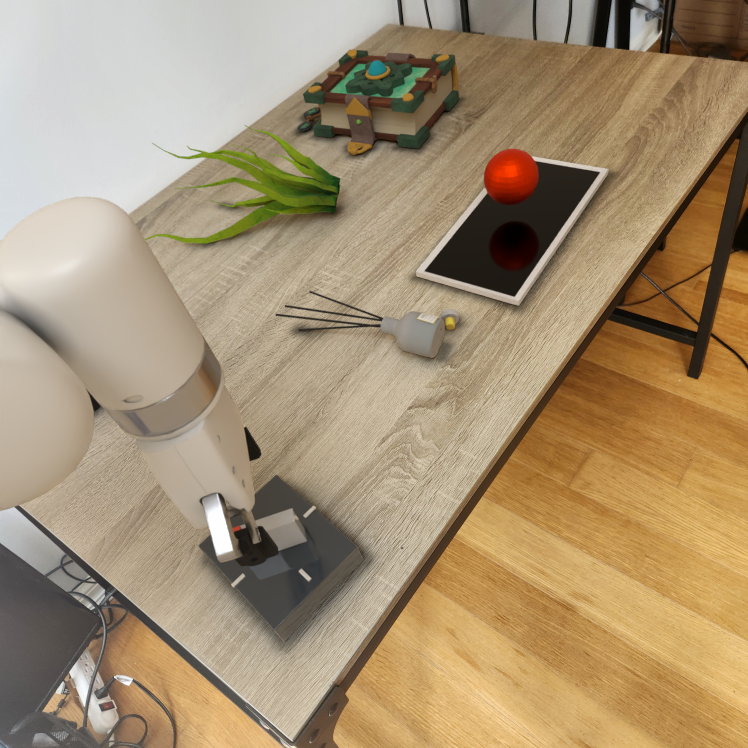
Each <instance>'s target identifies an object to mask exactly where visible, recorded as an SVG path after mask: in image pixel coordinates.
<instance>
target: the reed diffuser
mask: <svg viewBox="0 0 748 748" xmlns="http://www.w3.org/2000/svg"><path fill="white" fill-rule="evenodd" d="M308 293H309V294H311V295H314V296H317V297H320V298H322V299H325V300H328V301H330V302H333V303H336V304H339V305H341V306H344V307H346V308H349V309H352V310H354V311H356V312H357V311H358V312H360V313H363V314H366V315H368V316H364V315H356V314H349V313H342V312H335V311H330V310H329V311H328V310H321V309H316V308H308V307H302V306H295V305H289V304H285V305H284V308H290V309H295V310H301V311H308V312H309V311H310V312H316V313H321V314H329V315H334V316H335V315H336V316H343V317H350V318H354V319H361V320H369V321H375V322H380V323H377V324H376V323H375V324H372V323H364V322H363V323H362V322H352V321H346V320H345V321H343V320H335V319H328V318H327V319H326V318H319V317H318V318H317V317H311V316H301V315H291V314H283V313H275V317H281V318H282V317H283V318H289V319H301V320H308V321H317V322H327V323H334V324H344V325H343V326H340V325H339V326H327V327H326V326H325V327H309V328H298V330H297V331H298V332H309V331H323V330H325V331H327V330H342V329H344V330H345V329H358V328H359V329H360V328H379V329H380V332H381V333H385V334H387V335H391V336H394V337H395V340H396V342H397V345H398V346H399V348H400V349H401V350H402V351H404V352H407V353H410V354H414V355H419V356H422V357H426V358H431V359H434V358H435V357H436V356H437V355H438V353H439V351H440V349H441V346H442V343H443V339H444V336H445V328H446V329H447V330H449V331H452V330H454V329H455V328H456V324H457V323H458V322H459V320H460V316H459V312H458V311H457V310H455V309H450V308H449V309H445V310H443V311H442V312H441V313H440V316H438V315H435V314H432V313H427V312H425V311H421V312H420V311H415V310H414V311H409V312H407V313H405V314H404V315H403V316H401V318H399V319H398V318H394V317H390V316H387V315H386V316H384V317H383V316H380V315H376V314H374V313H373V312H369V311H366V310H364V309H361V308H358V307H355V306H354V305H353V306H352V305H350V304H348V303H344V302H342V301H339V300H336V299H334V298H331V297H328V296H325V295H323V294H320V293H318V292H315V291H312V290H309V291H308Z"/></svg>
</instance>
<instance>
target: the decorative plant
mask: <svg viewBox="0 0 748 748" xmlns="http://www.w3.org/2000/svg"><path fill="white" fill-rule="evenodd" d="M244 126H245V127H246V128H248V129H250V130H251V131H254V132H258V133H262V134H266V135H268V136H269V137H270V138H271V139H273V140H275V141H276V142H277V144H279V145H280V146H281V147H282V149H283V151H285V152H286V154H287V155H288V156H289V157H287V156H285V155H281V154H280V155H279V154H271V153H266V155H269V156H272V157H273V156H274V157H280V158H283V159H285V160H286V161H288V162H289V163H291V164H292V165H293V166H294V167H295V168H296V169H297V170H298V171H299V172H300V173H302V174H303V175H305V176H300V175H299V176H298V175H296V174H293V173H290V172H287V171H284V170H283V169H280V168H279V167H278V166H276V165H274V164H273V163H271V162H270V161H268V160H267V159H265V158H262V157H259V156H258V155H257V153H256V152H255V151H253V150H252V149H251V148H248V147H244V146H240V145H235V144H231V146H232V147H233V146H234V147H238V148H242V149H244V150H247V151H249V152H250V153H251V154H250V153H246V152H243V151H237V150H229V149H220V150H215V151H212V152H208V151H205V150H201V149H194V148H190V147H189V145H186V147H187V148H188V150H190V151H192V152H193V151H194V152H198V153H197V154H193V155H189V156H187V155H186V156H180V155H177V154H175V153H172V152H170V151H167V150H165V149H163V148H162V147H160V146H158V145H157V144H155V143H154V142H151V144H152V145H153V146H155V147H157V148H158V149H160V150H162V151H163V152H165V153H167V154H169V155H171V156H173V157H175V158H177V159H182V160H195V159H202V158H203V159H204V158H205V159H211V160H219V161H222V162H224V163H226V164H229V165H230V166H233V167H235V168H237V169H240V170H242V171H244V172H246V173H247V174H249V175H250V176H251V177H252V178H254V180H250V179H246V178H241V177H236V176H231V177H228V178H224V179H221V180H217V181H214V182H210V183H207V184H202V185H201V184H200V185H195V186H188V187H180V188H176V190H183V189H184V190H186V189H199V188H200V189H201V188H210V187H211V188H212V187H216V186H222V185H226V184H231V183H232V184H233V183H236V184H239V185H242V186H243V187H244V186H245V187H247V188H249V189H252V190H254V191H257V192H259V193H262V194H263V196H260V197H256V198H250V199H247V200H240V201H236V202H235V203H234V204H233V205H232V204H231V205H229V204H226V203H221V202H218V201H215V200H212V199H210V201H211V202H214V203H217V204H219V205H223V206H225V207H229V208H237V207H243V208H254V207H258V208H255V209H254V210H253V211H251V212H250V213H249V214H247V215H245V216H244V217H242V218H240V220H238V221H236V222H235V223H234V224H232V225H231V226H229V227H227V228H224V229H222V230H220V231H218V232H215V233H213V234H211V235H209V236H206V237H184V236H183V237H182V236H178V235H174V234H169V233H156V234H152V235H151V236H148V237H146V238H144V239H145V240H146V241H147V240H150V239H153V238H157V237H161V238H169V239H171V240H175V241H178V242H180V243H185V244H209V243H213V242H218V241H221V240H224V239H228V238H232V237H235V236H237V235H239V234H241V233H242V232H245V231H246V230H248V229H251V228H253V227H254V226H257V225H259V224H261V223H262V222H265V221H267V220H269V219H272V218H274V217H276V216H278V215H292V214H293V215H310V214H316V213H333V214H334V213H335V212H336V211H337V204H338V197H339V196H340V191H341V190H340V189H341V184H340V183H341V177H338V176H336V175H333V174H331V173H330V172H328V171H327V170H326V169H324V167H322V166H320V165H319V164H317V162H315V161H314V160H313V159H312V158H311V157H309V156H307V155H304V154H302V153H301V152H299V150H297V149H296V148H294V147H293V145H291V144H289V142H287V141H285V140H284V139H283V138H280V137H279V136H278V135H275V134H274V133H271V132H270V131H267V130H261V129H253V128H251V127H250V126H248V125H246V124H244ZM255 180H256V181H255Z"/></svg>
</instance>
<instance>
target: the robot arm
mask: <svg viewBox="0 0 748 748" xmlns="http://www.w3.org/2000/svg"><path fill="white" fill-rule="evenodd" d="M145 239H146V238H145V237H144V236H143V233H142V232H141V230H140V228H139V227H138V225H137V224H136V222H135V221H134V220H133V218H132V217H131V216H130V215H129V214H128V213H127V212H126V211H125V209H124V208H122V207H120V206H119V205H118V204H117V203H115V202H113V201H110V200H107V199H104V198H101V197H95V196H75V197H69V198H65V199H61V200H58V201H55V202H52V203H50V204H47V205H45V206H43V207H41V208H39V209H37V210H35V211H34V212H32V213H29V214H28V215H27V216H26V217H24V218H23V219H21V220H20V221H19V222H18V223H16V224H15V225H14V226H13V227H12V228H11V229H10V230H9V231H8V232H7V233H6V234H5V235H4V236H3V238H2V239H1V240H0V512H2V511H7V510H11V509H12V508H15V507H18V506H21V505H24V504H26V503H29V502H31V501H33V500H35V499H37V498H40V497H41V496H43V495H45V494H47V493H49V492H50V491H51V490H53V489H54V488H56V487H58V486H59V485H61V483H64V481H66V480H67V478H69V477H70V475H72V474H73V473H74V472H75V470H76V469H77V468H78V467H79V465H80V464H81V463H82V461H83V460H84V458H85V457H86V456H87V453H88V451H89V448H90V446H91V443H92V442H93V441H92V440H93V436H94V432H95V411H94V410H93V407H92V403H91V399H90V396H89V394H88V392H89V393H90V394H91V395H92V396H93V397H94V398H95V400H96V401H97V402H98V403H99V404H100V405H101V406H100V407H101V408H102V409H103V410H104V411H105V412H106V414H107V415H108V416H109V417H110V418H111V419H112V420H113V421H114V422H115V424H116V425H117V426H118V427H119V428H120V429H121V430H122V432H123V433H124V434H126V435H127V436H129V437H130V438H132V439H135V441H136V445H137V449H138V451H139V453H140V455H141V457H142V458H143V460H144V462H145V464H146V465H147V467H148V469H149V471H150V473H151V474H152V476H153V477H154V479H155V480H156V482H157V483H158V485H159V486H160V487H161V489H162V490H163V492H164V493H165V495H166V496H167V497H168V498H169V500H170V501H171V502H172V504H173V506H175V508H176V509H177V511H179V513H180V514H181V515H182V516H183V518H184V519H185V520H186V521H187V522H188V523H189V524H190V525H191V526H192V528H194V529H196V530H198V531H200V530H202V529H207V528H208V529H209V530H208V531H209V533H210V534H211V537H212V541H213V545H214V548H215V552H216V556H217V559H218V561H219V562H228V561H231V560H234V559H235V560H236V561H237V563H238V564H239V565H240V566H256V565H259V564H262V563H264V562H265V561H266V559H268V558H270V557H273V556H276V555H278V554H279V551H278V546H277V545H276V544H275V542H274V541H273V540H272V538H271V537H270V536H269V534H268V533H267V531H266V530H265V529H264V527H263V526H257V524H256V522H255V519H254V516H253V514H252V511H251V510H252V508H253V506H254V504H255V495H254V494H255V488H254V480H253V475H252V467H251V462H253V461H255V460H258V459H260V458H261V457H262V450H261V448H260V446H259V444H258V443H257V441H256V439H255V438H254V436H253V434H252V433H251V432H250V430H249V428H248V427H247V426H244V421H243V417H242V415H241V411H240V409H239V408H238V405H237V404H236V401H235V400H234V398H233V397H232V395H231V393H230V391H229V390H228V388H227V387H226V386H225V372H224V369H223V367H222V365H221V363H220V361H219V360H218V358H217V356H216V355H215V353H214V352H213V350H212V348H211V347H210V345H209V343H208V342H207V340H206V338H205V337H204V335H203V333H202V331H201V330H200V328H199V327H198V325H197V323H196V321H195V320H194V318H193V316H192V315H191V313H190V312H189V309H187V307H186V305H185V303H184V302H183V300H182V299H181V297H180V295H179V294H178V292H177V290H176V289H175V287H174V285H173V284H172V282H171V280H170V279H169V277H168V275H167V273H166V272H165V270H164V269H163V267H162V265H161V263H160V262H159V260H158V258H157V257H156V255H155V254H154V252H153V250H152V248H151V247H150V245H149V244H148V242H147V240H145ZM86 389H87V390H88V392H87V390H86ZM227 504H228V506H227ZM240 514H241V516H242V518H243V521H244V524H245V526H246V528H243V529H240V530H237V531H235V532H233V528H232V525H231V521H230V518H232V517H234V516H237V515H240Z"/></svg>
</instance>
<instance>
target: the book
mask: <svg viewBox="0 0 748 748" xmlns="http://www.w3.org/2000/svg"><path fill="white" fill-rule="evenodd" d="M337 61H338V65H339V66H338V67H337V68H336V69H335V70H334V71H333V70H329V71H327V73H326V74H327V75H326V76H327V77H326V78H325V79H324V80H323V81H322V82H320V81H319V82H317V81H316V82H314V83H313V84H311V86H310V87H309V88H307V90H305V91H304V93H302V96H303V100H304V103H305V104H312V105H313V104H315V105H318V106H317V107H313V108H311V109H308V110H306V111H304V113H303V117H304V119H306V120H305V121H302V123H300V124H299V125H298V126H297V131H299V132H300V133H301V132H302V133H303V132H307V131H309V130H311V127H312V131H313V134H314V137H315V136H316V137H324V138H329V139H331V138H332V139H333V138H334V137H335V136H336V134H337V135H346V136H351V138H350V141H348V142H347V149H346V151H347V152H348V153H349V154H350V155H352V156H357V155H359V154H363V153H365V152H366V151H368V150H372V148H373V145H374V142H375V141H377V140H387V141H393V142H394V141H396V142H397V145H398V147H403V148H410V149H416V150H417V149H419V150H420V148H421V146H422V145H423V144H424V143H425V142H426V140H427V139H428V138H429V137H430V128H431V127H432V125H434V123H435V122H436V121H437V119H439V117H440V116H441V115H442V113H443V112H450V111H451V110H452V109H453V107H454V106H455V105H456V104H457V102H458V101H459V100H460V95H459V90H458V88H459V72H458V66H457V62H456V55H455V54H446V53H445V54H444V53H443V54H442V53H434V54H433V55H432V56H431V57H430V58H424V57H416V56H415V55H414V54H413V53H401V52H387V54H386V55H385V56H384V55H370V54H369V51H368V50H364V49H363V50H362V49H355V48H354V49H348V50H347V51H346V52H345V53H344V54H343V55H342V56H341V57H340V58H339V59H338V60H337ZM319 117H321V118H320V119H319V120H318V121H317V123H315V124H314V125H313V123H312V122H314V121H315V119H317V118H319Z"/></svg>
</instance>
